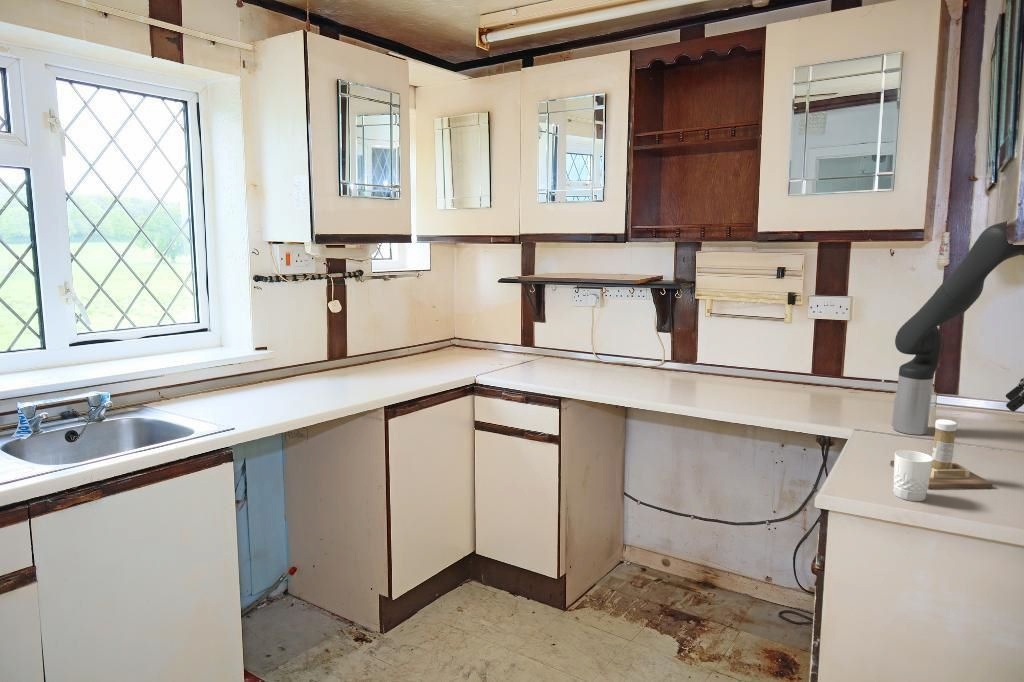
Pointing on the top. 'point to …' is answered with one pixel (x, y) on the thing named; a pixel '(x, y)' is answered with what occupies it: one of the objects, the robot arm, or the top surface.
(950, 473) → the holder board
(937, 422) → the sprinkles bottle
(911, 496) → the white cup
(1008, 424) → the top surface
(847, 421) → the top surface
